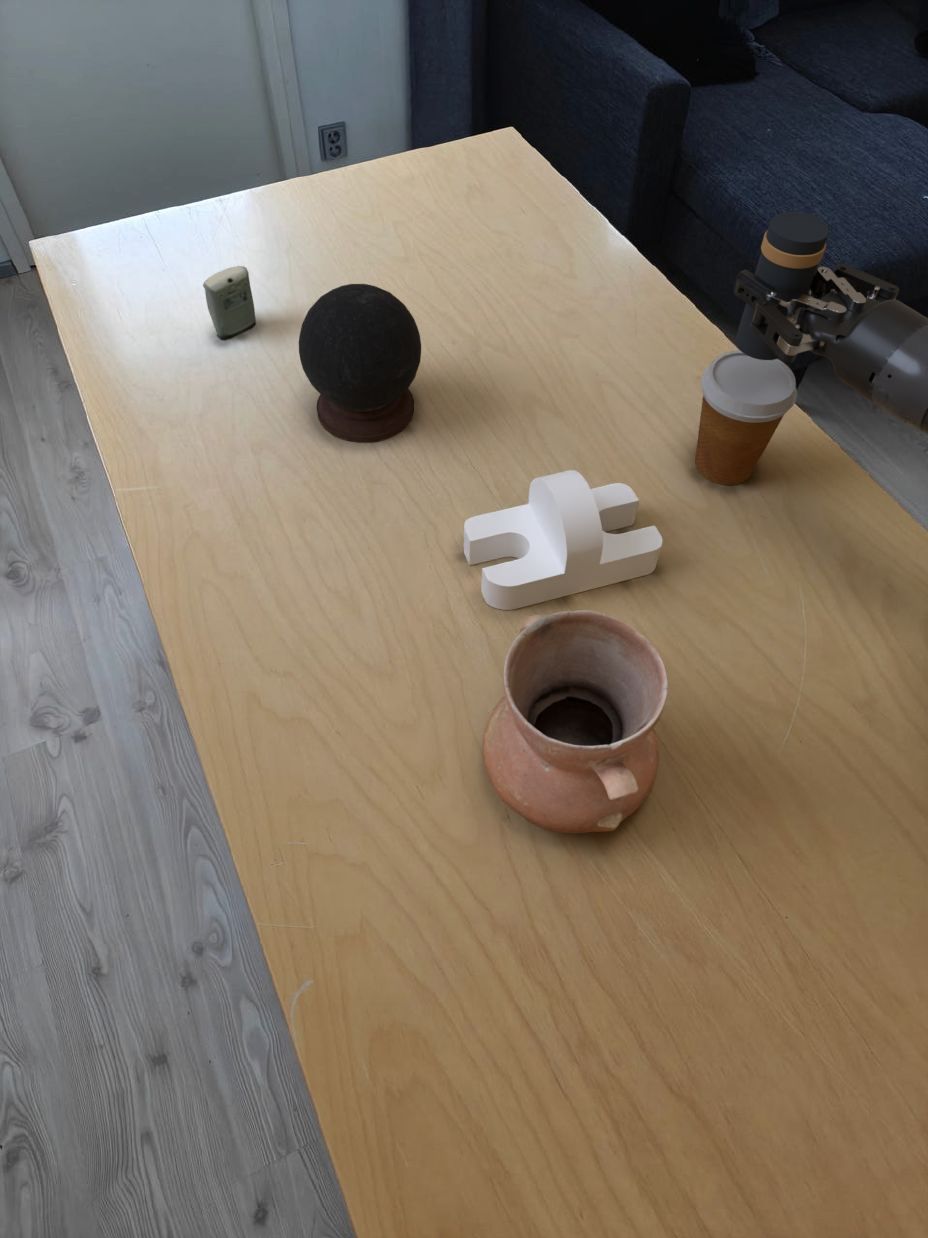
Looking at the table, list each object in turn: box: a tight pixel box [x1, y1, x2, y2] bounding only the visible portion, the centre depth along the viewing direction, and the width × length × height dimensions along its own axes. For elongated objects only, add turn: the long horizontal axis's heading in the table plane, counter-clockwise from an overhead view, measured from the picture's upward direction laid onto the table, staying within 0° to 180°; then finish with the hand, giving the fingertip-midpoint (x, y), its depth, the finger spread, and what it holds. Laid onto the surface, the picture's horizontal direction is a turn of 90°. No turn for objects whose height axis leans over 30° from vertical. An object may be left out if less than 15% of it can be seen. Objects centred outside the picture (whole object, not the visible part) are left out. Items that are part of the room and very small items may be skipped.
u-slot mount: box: [463, 469, 663, 611], centre depth 89 cm, size 18×10×10 cm, turn 109°
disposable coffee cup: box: [694, 349, 798, 486], centre depth 97 cm, size 10×10×12 cm
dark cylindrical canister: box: [735, 211, 830, 360], centre depth 84 cm, size 5×5×12 cm
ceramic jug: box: [482, 609, 669, 834], centre depth 74 cm, size 18×14×14 cm
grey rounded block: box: [202, 265, 257, 341], centre depth 112 cm, size 6×5×8 cm
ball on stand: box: [298, 283, 422, 443], centre depth 101 cm, size 13×13×15 cm
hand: (760, 270), depth 85 cm, fingers closed on dark cylindrical canister, 5 cm apart
